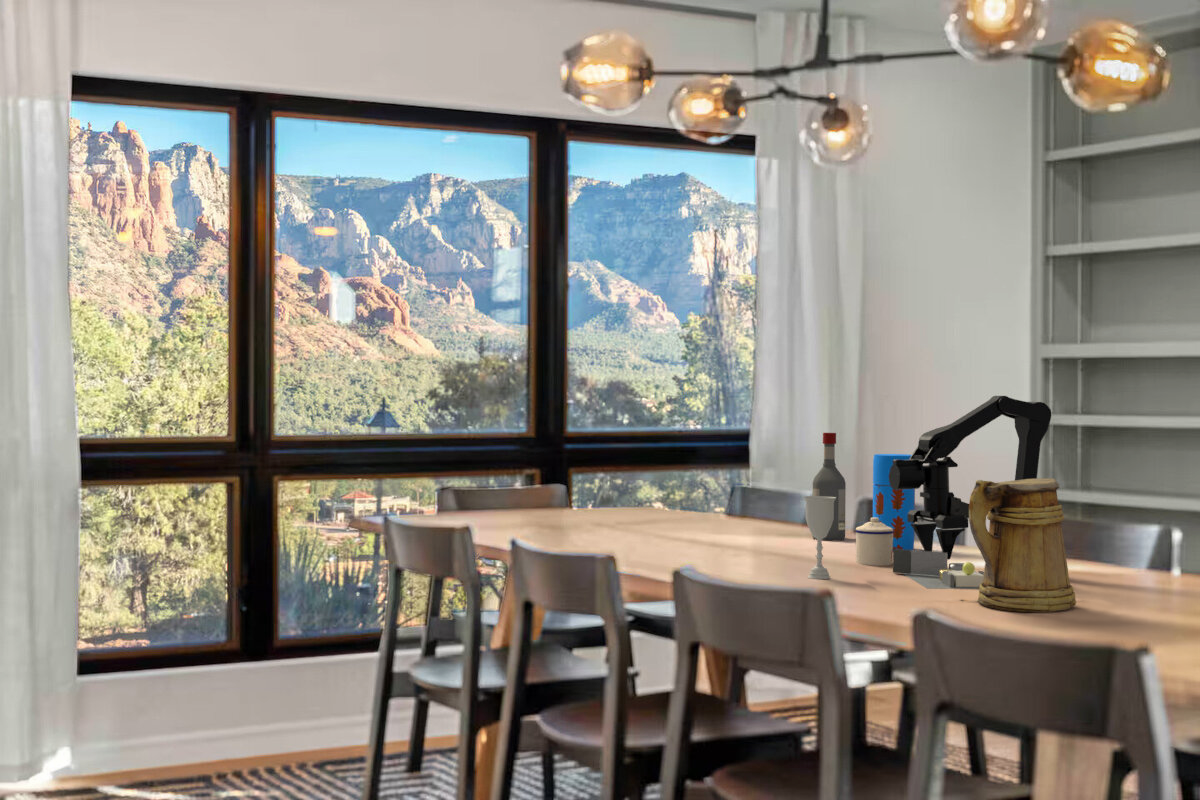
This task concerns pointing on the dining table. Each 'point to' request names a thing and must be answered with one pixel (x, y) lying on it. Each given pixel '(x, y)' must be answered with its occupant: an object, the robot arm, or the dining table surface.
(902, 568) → the cam capstan
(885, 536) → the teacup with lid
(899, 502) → the thermos
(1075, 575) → the dining table surface
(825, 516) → the chalice
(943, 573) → the level stand
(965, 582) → the cam foot
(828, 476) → the liquor
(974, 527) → the tankard
